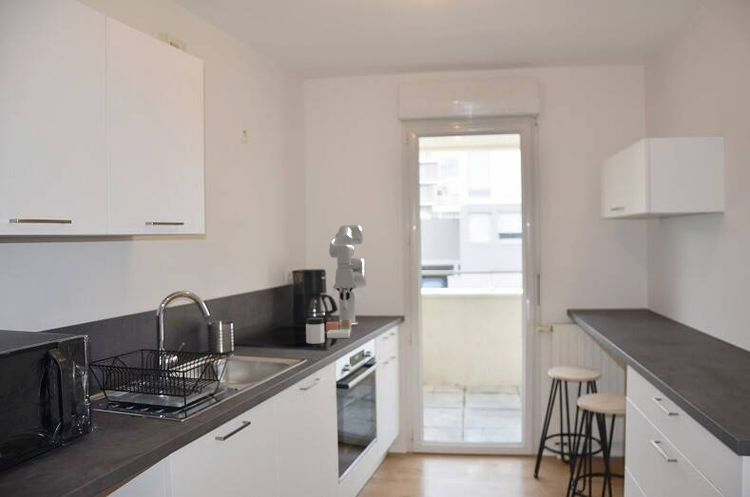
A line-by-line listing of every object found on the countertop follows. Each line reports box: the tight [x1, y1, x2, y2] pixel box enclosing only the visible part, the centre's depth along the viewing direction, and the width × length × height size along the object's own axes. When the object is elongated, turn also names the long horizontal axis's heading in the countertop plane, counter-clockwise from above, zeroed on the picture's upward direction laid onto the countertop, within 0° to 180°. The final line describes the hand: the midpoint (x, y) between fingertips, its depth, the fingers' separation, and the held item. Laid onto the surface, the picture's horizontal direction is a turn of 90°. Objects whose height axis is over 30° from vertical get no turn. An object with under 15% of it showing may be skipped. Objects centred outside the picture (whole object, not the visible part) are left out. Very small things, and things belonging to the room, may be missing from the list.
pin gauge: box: [342, 288, 348, 310], centre depth 333 cm, size 3×3×12 cm
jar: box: [305, 317, 325, 345], centre depth 297 cm, size 9×8×12 cm
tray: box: [326, 329, 351, 339], centre depth 315 cm, size 11×11×3 cm
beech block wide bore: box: [339, 319, 352, 333], centre depth 333 cm, size 6×6×6 cm
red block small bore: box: [325, 321, 339, 335], centre depth 326 cm, size 6×6×6 cm
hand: (345, 299), depth 333 cm, fingers closed on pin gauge, 2 cm apart
